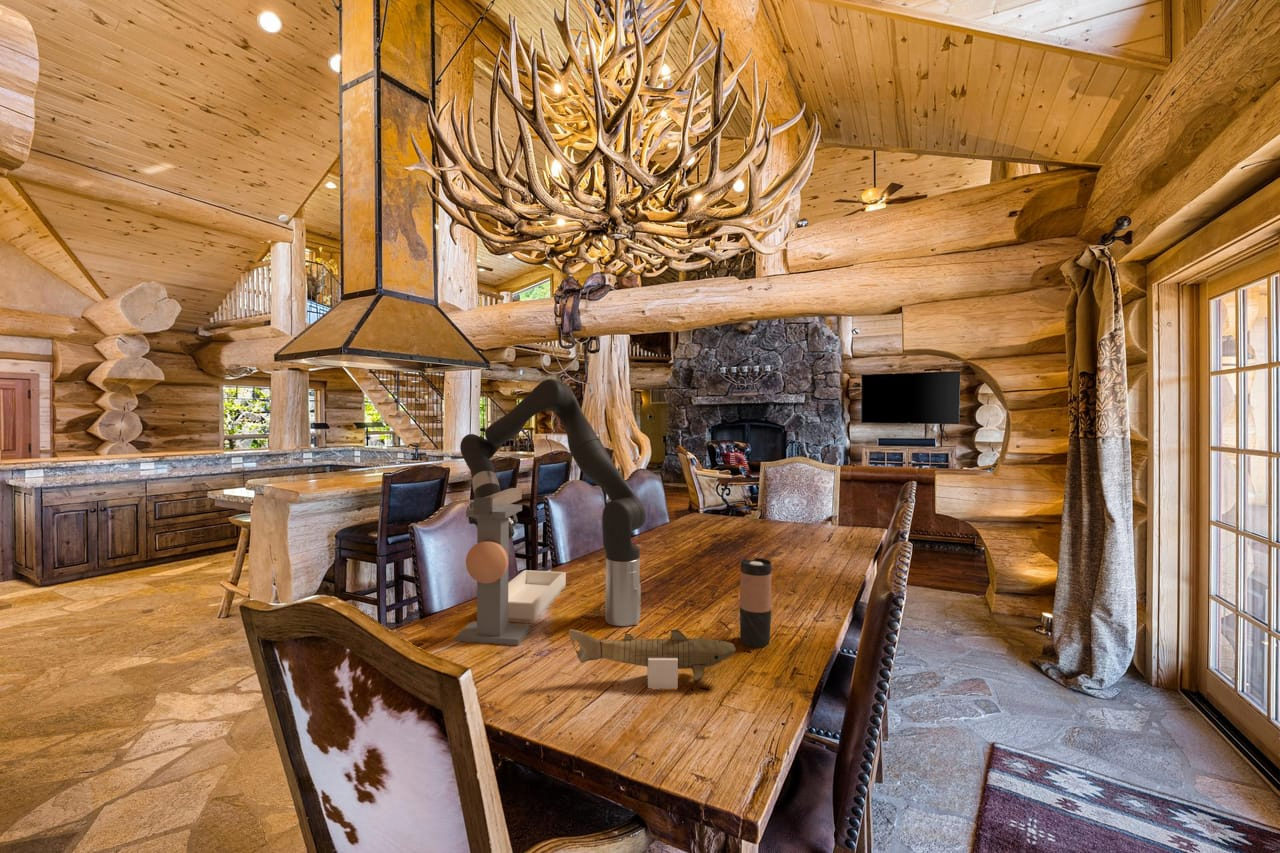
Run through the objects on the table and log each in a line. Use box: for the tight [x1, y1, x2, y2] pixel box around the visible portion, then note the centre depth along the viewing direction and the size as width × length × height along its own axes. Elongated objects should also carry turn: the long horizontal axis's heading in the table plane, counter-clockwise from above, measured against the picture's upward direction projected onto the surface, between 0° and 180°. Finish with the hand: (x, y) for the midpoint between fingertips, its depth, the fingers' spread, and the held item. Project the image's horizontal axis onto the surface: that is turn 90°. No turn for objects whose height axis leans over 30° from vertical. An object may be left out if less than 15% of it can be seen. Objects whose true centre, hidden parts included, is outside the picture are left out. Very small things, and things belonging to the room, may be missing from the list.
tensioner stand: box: [455, 503, 532, 647], centre depth 132 cm, size 16×11×32 cm
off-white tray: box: [508, 569, 567, 624], centre depth 157 cm, size 14×30×5 cm, turn 172°
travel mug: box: [739, 557, 772, 648], centre depth 130 cm, size 8×8×20 cm
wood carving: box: [568, 629, 736, 690], centre depth 110 cm, size 9×35×11 cm, turn 91°
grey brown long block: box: [473, 487, 523, 515], centre depth 135 cm, size 4×22×4 cm, turn 172°
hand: (497, 536), depth 147 cm, fingers open, 8 cm apart
